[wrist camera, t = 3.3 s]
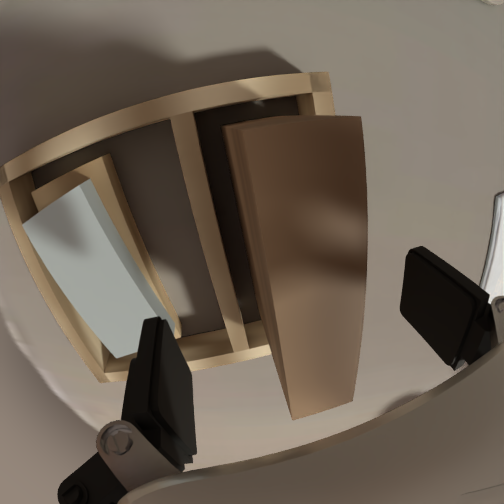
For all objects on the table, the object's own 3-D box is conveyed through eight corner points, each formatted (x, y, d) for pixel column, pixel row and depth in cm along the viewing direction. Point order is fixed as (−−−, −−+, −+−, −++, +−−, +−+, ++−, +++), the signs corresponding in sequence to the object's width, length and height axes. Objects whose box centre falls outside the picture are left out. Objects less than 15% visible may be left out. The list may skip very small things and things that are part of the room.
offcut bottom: (121, 333, 19) (117, 352, 18) (46, 184, 14) (31, 192, 12) (181, 318, 20) (181, 337, 18) (113, 151, 14) (101, 156, 12)
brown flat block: (257, 308, 19) (292, 420, 12) (220, 125, 14) (242, 130, 6) (299, 297, 20) (352, 400, 12) (275, 116, 14) (360, 116, 6)
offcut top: (120, 342, 17) (116, 358, 16) (34, 215, 13) (21, 224, 11) (175, 323, 17) (173, 339, 16) (90, 178, 13) (79, 185, 11)
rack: (106, 359, 19) (100, 382, 17) (15, 162, 12) (-7, 171, 10) (331, 311, 21) (344, 333, 18) (310, 77, 13) (328, 71, 11)
